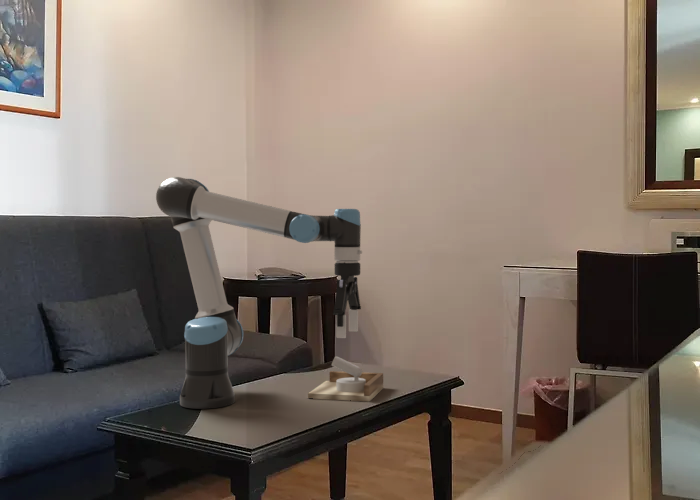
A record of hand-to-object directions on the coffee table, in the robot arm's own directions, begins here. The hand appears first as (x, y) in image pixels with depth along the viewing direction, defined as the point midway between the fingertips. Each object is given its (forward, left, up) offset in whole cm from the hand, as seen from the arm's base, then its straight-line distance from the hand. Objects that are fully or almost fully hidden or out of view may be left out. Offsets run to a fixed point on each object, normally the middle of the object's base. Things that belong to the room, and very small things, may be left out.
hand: (347, 334), depth 220 cm
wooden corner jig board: (-1, +1, -17) cm, 17 cm away
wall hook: (0, 0, -16) cm, 16 cm away
